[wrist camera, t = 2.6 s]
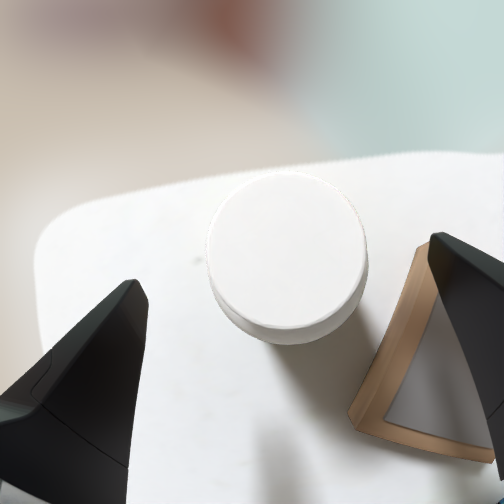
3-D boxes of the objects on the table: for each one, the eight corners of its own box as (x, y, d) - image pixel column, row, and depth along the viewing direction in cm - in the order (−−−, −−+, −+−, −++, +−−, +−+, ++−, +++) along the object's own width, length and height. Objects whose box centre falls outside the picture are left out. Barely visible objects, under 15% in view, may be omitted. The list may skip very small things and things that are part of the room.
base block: (472, 449, 13) (494, 465, 10) (347, 412, 15) (356, 432, 12) (529, 307, 14) (557, 305, 12) (416, 247, 16) (438, 236, 13)
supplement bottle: (360, 274, 17) (434, 235, 7) (294, 350, 16) (294, 405, 7) (285, 211, 18) (274, 111, 8) (220, 284, 17) (138, 257, 8)
